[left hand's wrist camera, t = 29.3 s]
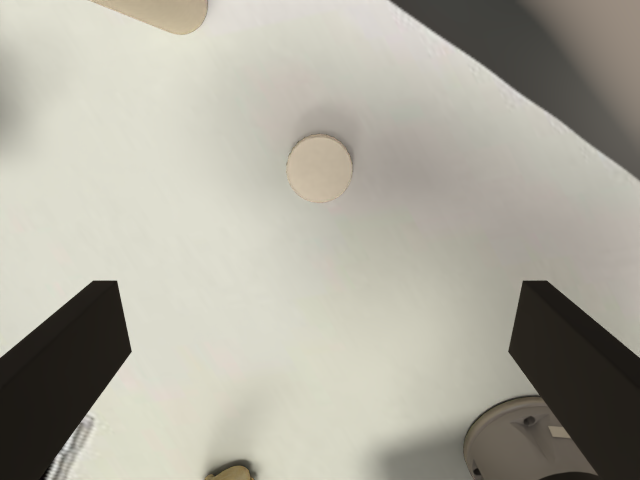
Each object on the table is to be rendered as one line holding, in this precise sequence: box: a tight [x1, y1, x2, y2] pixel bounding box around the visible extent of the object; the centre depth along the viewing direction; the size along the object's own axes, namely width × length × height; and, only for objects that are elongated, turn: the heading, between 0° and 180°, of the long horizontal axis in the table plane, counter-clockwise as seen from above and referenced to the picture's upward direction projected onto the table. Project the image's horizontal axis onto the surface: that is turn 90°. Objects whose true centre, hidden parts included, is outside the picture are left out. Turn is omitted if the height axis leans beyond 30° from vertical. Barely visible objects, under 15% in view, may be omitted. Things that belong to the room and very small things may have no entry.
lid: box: [286, 134, 353, 203], centre depth 36 cm, size 6×6×2 cm
